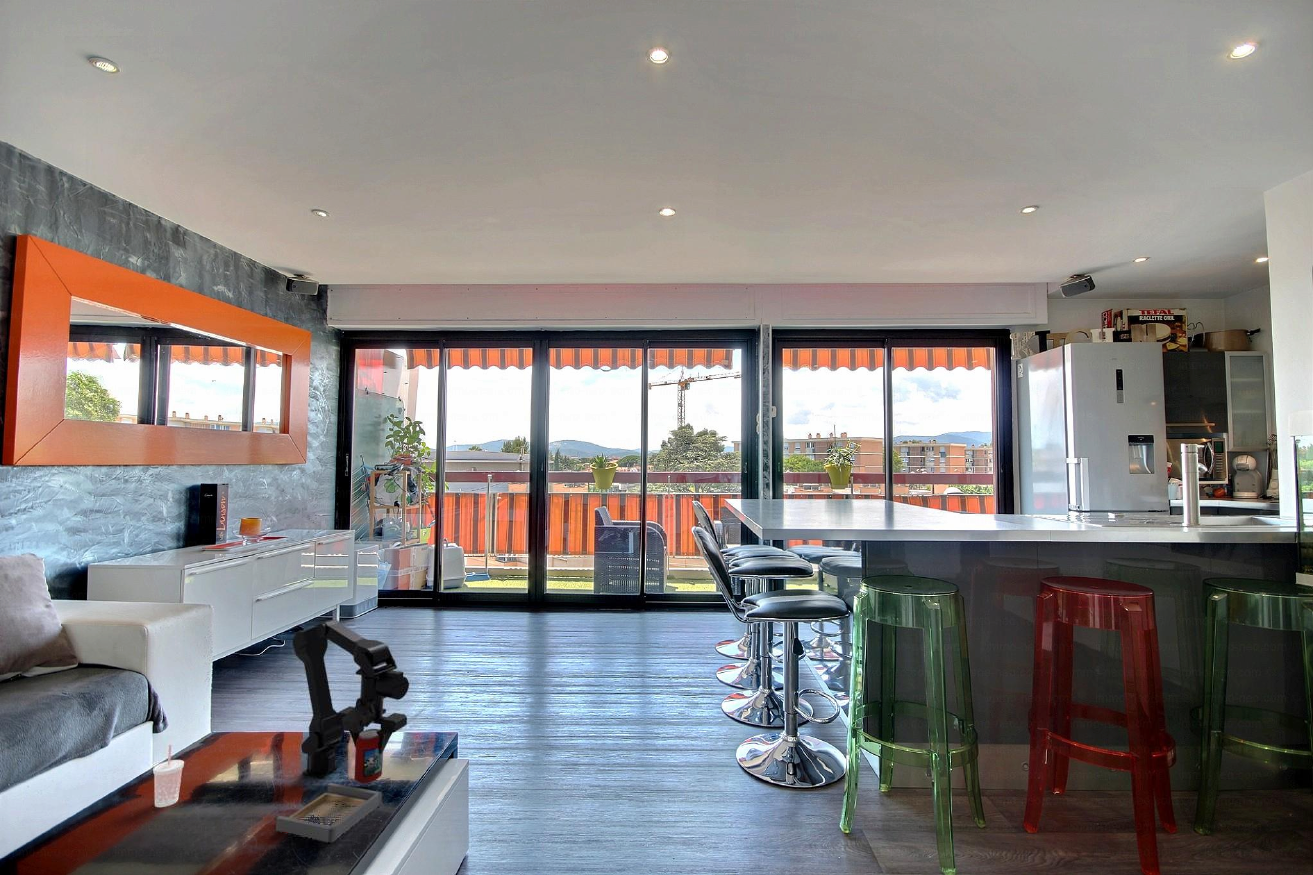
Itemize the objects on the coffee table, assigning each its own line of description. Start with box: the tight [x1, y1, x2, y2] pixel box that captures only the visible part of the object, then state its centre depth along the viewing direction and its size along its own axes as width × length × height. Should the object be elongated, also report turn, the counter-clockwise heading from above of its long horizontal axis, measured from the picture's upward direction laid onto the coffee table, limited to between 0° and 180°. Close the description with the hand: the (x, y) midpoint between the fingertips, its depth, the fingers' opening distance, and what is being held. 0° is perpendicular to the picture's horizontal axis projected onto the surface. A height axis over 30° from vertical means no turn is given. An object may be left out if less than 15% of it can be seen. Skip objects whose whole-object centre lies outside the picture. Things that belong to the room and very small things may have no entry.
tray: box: [289, 792, 367, 826], centre depth 150 cm, size 13×13×2 cm
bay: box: [275, 782, 383, 844], centre depth 150 cm, size 16×17×3 cm
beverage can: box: [354, 728, 384, 784], centre depth 164 cm, size 7×7×12 cm
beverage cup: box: [152, 744, 185, 808], centre depth 154 cm, size 6×6×14 cm
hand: (369, 751), depth 164 cm, fingers closed on beverage can, 7 cm apart
